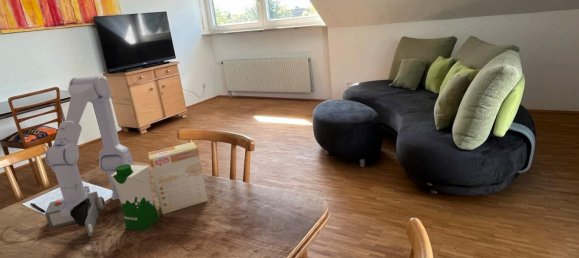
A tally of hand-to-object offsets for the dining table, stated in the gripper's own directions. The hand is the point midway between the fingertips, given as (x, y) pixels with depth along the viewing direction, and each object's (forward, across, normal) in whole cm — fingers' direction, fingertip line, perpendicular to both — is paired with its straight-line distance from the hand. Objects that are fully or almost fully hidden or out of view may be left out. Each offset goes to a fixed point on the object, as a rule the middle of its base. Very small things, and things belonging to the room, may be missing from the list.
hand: (83, 224), depth 111 cm
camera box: (+2, -10, -7) cm, 13 cm away
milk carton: (+3, 0, +17) cm, 17 cm away
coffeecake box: (+3, -9, +28) cm, 30 cm away
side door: (+2, -2, +2) cm, 3 cm away
